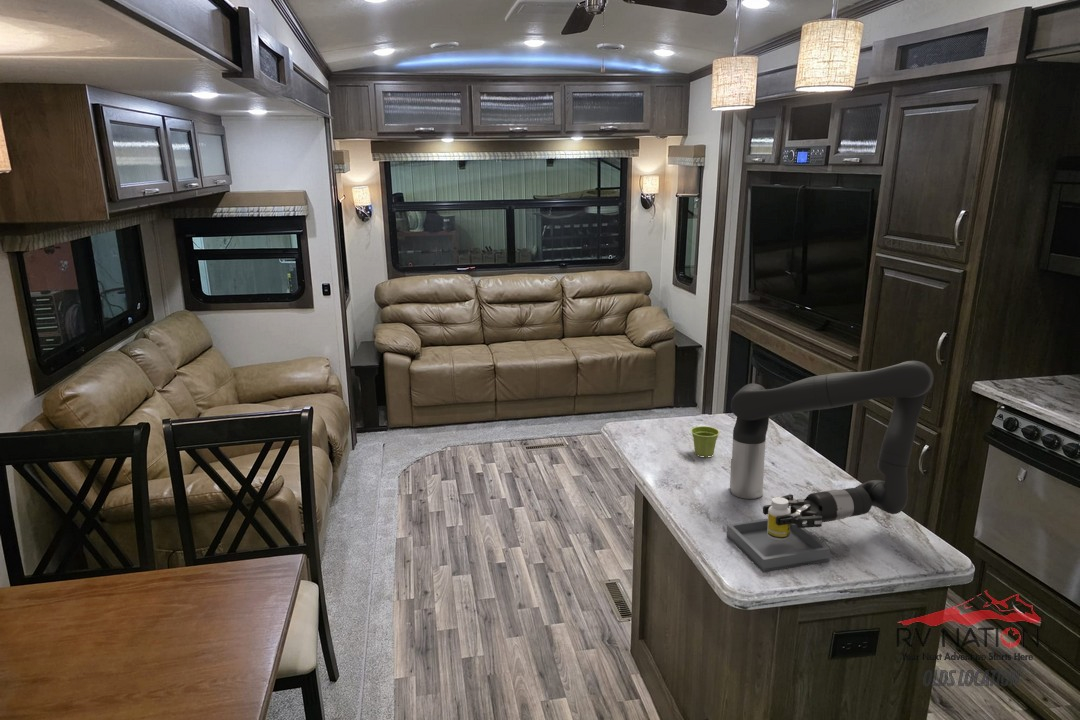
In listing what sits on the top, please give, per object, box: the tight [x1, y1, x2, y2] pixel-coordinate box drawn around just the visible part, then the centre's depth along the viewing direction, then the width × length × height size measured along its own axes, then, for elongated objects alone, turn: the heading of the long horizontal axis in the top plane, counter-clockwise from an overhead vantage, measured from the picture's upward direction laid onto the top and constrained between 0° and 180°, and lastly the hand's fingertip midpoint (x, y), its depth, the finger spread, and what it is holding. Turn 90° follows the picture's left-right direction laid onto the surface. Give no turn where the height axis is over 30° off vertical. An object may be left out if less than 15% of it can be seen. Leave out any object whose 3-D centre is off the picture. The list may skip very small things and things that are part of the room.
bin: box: [726, 518, 831, 573], centre depth 177 cm, size 18×18×4 cm
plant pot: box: [690, 425, 720, 458], centre depth 236 cm, size 9×9×9 cm
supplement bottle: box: [767, 496, 791, 540], centre depth 175 cm, size 5×5×10 cm
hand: (770, 515), depth 174 cm, fingers closed on supplement bottle, 5 cm apart
